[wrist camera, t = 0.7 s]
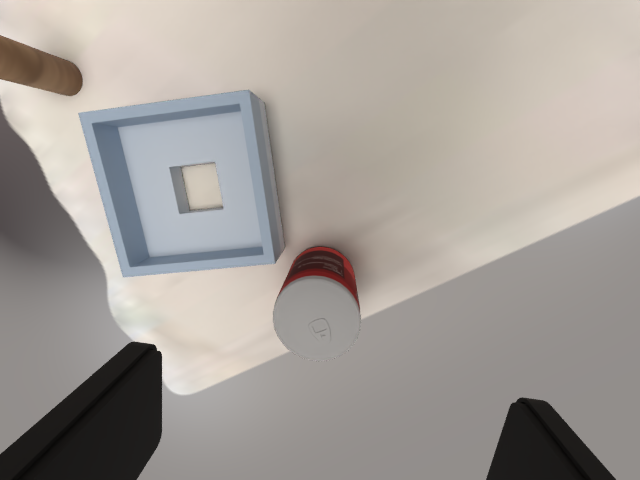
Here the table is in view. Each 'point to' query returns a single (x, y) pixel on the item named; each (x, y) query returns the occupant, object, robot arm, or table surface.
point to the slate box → (169, 190)
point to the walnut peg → (37, 68)
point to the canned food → (318, 306)
